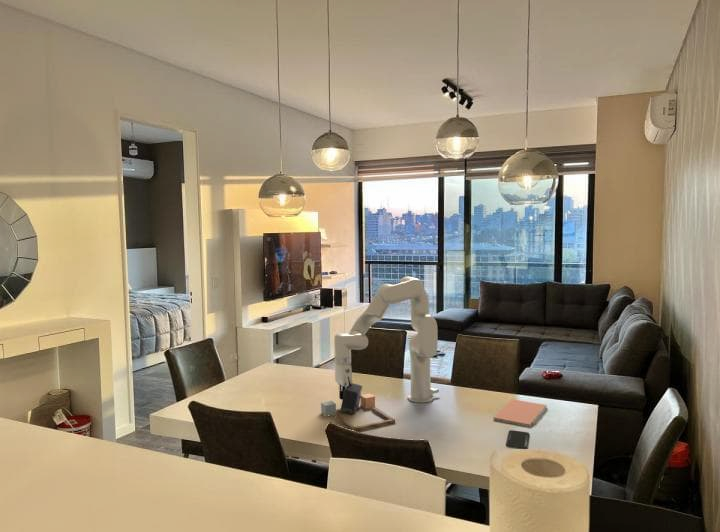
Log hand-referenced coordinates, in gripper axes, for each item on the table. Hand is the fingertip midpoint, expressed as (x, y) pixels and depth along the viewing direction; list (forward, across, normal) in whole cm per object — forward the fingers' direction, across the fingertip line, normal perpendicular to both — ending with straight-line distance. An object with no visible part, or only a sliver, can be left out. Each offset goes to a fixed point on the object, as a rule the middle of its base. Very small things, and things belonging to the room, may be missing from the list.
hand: (343, 398), depth 242 cm
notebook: (+4, -47, -65) cm, 80 cm away
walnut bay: (+4, -20, 0) cm, 20 cm away
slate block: (+4, -5, +10) cm, 12 cm away
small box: (+3, -6, -1) cm, 7 cm away
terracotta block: (+4, -5, -10) cm, 12 cm away
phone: (+4, -68, -43) cm, 80 cm away
